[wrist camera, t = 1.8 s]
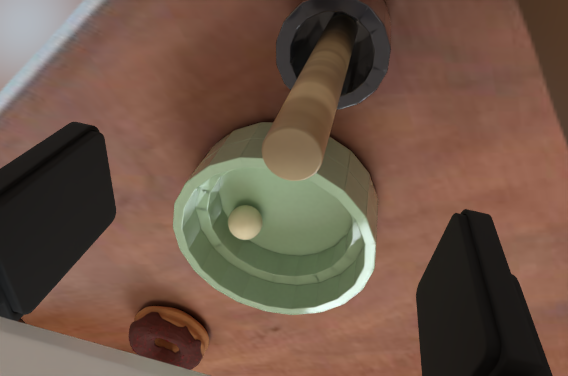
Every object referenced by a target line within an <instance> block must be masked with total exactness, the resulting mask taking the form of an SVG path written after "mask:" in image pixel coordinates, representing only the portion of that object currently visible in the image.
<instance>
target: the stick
mask: <svg viewBox="0 0 568 376" xmlns="http://www.w3.org/2000/svg"><path fill="white" fill-rule="evenodd" d="M356 35H357V26H356V23H355V22H354V20H353V19H352V18H350V17H349V16H347V15H337V16H335V17H333V18H332V19H331V20H330V21H329V22H328V24H327V26H326V28H325V29H324V31H323V33H322V35H321V37H320V38H319V40H318V42H317V44H316V46H315V48H314V49H313V51H312V53H311V55H310V57H309V58H308V60H307V62H306V64H305V66H304V68H303V69H302V71H301V73H300V75H299V77H298V79H297V80H296V82H295V84H294V86H293V88H292V89H291V91H290V93H289V95H288V97H287V99H286V100H285V102H284V104H283V106H282V108H281V109H280V111H279V113H278V115H277V117H276V119H275V120H274V122H273V124H272V126H271V128H270V130H269V131H268V133H267V135H266V137H265V139H264V141H263V143H262V157H263V160H264V162H265V164H266V166H267V167H268V168H269V170H270V171H271V172H273V173H274V174H275V175H277V176H278V177H280V178H283V179H286V180H290V181H300V180H305V179H307V178H310V177H311V176H313V175H314V174H315V173H316V172H317V171H318V170H319V169H320V167H321V165H322V162H323V158H324V154H325V150H326V147H327V143H328V139H329V136H330V132H331V128H332V124H333V121H334V117H335V113H336V110H337V106H338V102H339V98H340V95H341V91H342V87H343V84H344V80H345V76H346V72H347V69H348V65H349V61H350V57H351V54H352V50H353V46H354V43H355V39H356Z"/></svg>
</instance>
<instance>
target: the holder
mask: <svg viewBox="0 0 568 376" xmlns="http://www.w3.org/2000/svg"><path fill="white" fill-rule="evenodd" d="M337 15H347V16H349V17H350V18H352V19H353V20H354V22H355V23H356V26H357V35H356V39H355V43H354V46H353V50H352V54H351V57H350V61H349V65H348V69H347V72H346V76H345V80H344V84H343V87H342V91H341V95H340V98H339V102H338V106H337V110H338V109H343V108H346V107H350V106H353V105H357V104H358V103H361V102H362V101H363V100H364V99H366V98H367V97H368V96H370V95H371V94H372V93H374V92H375V90H377V88H378V86H379V85H380V83H381V81H382V80H383V78H384V76H385V75H386V73H387V71H388V64H389V58H390V51H391V23H390V19H389V13H388V10H387V7H386V4H385V2H384V0H303V1H302V2H301V3H300V4H299V5H298V6H297V7H296V8H295V10H294V11H293V12H292V13H291V14H290V15H289V16H288V17H287V18H286V19H285V21H284V22H283V25H282V27H281V30H280V33H279V35H278V38H277V41H276V63H277V67H278V69H279V72H280V74H281V77H282V79H283V82H284V84H285V85H286V86H287V87H288V88H289V89H290V90H291V89H292V88H293V86H294V84H295V82H296V80H297V79H298V77H299V75H300V73H301V71H302V69H303V68H304V66H305V64H306V62H307V60H308V58H309V57H310V55H311V53H312V51H313V49H314V48H315V46H316V44H317V42H318V40H319V38H320V37H321V35H322V33H323V31H324V29H325V28H326V26H327V24H328V22H329V21H330V20H331V19H332V18H333V17H335V16H337Z"/></svg>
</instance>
